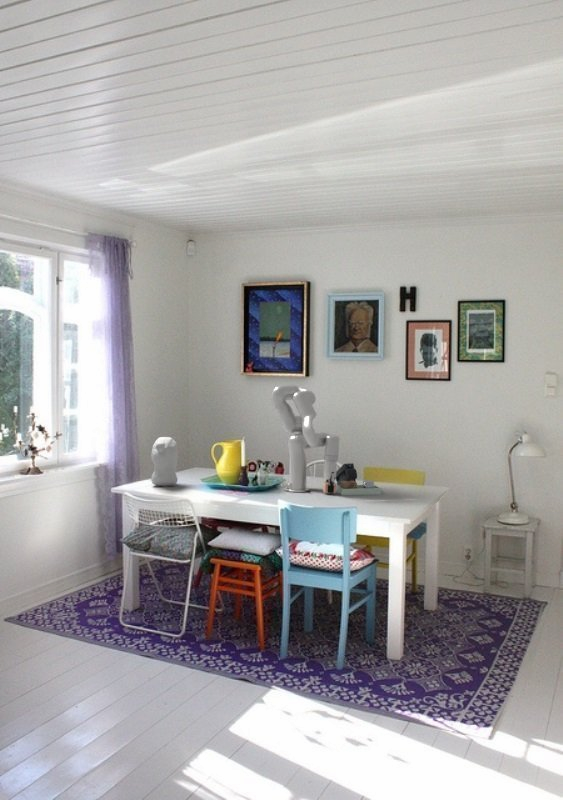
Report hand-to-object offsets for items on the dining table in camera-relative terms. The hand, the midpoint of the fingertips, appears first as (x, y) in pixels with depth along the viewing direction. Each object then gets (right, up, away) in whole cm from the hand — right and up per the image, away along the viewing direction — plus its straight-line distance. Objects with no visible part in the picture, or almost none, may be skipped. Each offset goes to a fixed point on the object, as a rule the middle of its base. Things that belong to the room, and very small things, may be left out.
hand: (329, 491), depth 401 cm
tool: (+11, -1, +23) cm, 26 cm away
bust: (-92, 0, +20) cm, 94 cm away
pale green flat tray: (+16, -2, +5) cm, 17 cm away
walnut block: (+11, -1, +4) cm, 12 cm away
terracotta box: (0, -1, 0) cm, 1 cm away
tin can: (+22, -2, +6) cm, 23 cm away
